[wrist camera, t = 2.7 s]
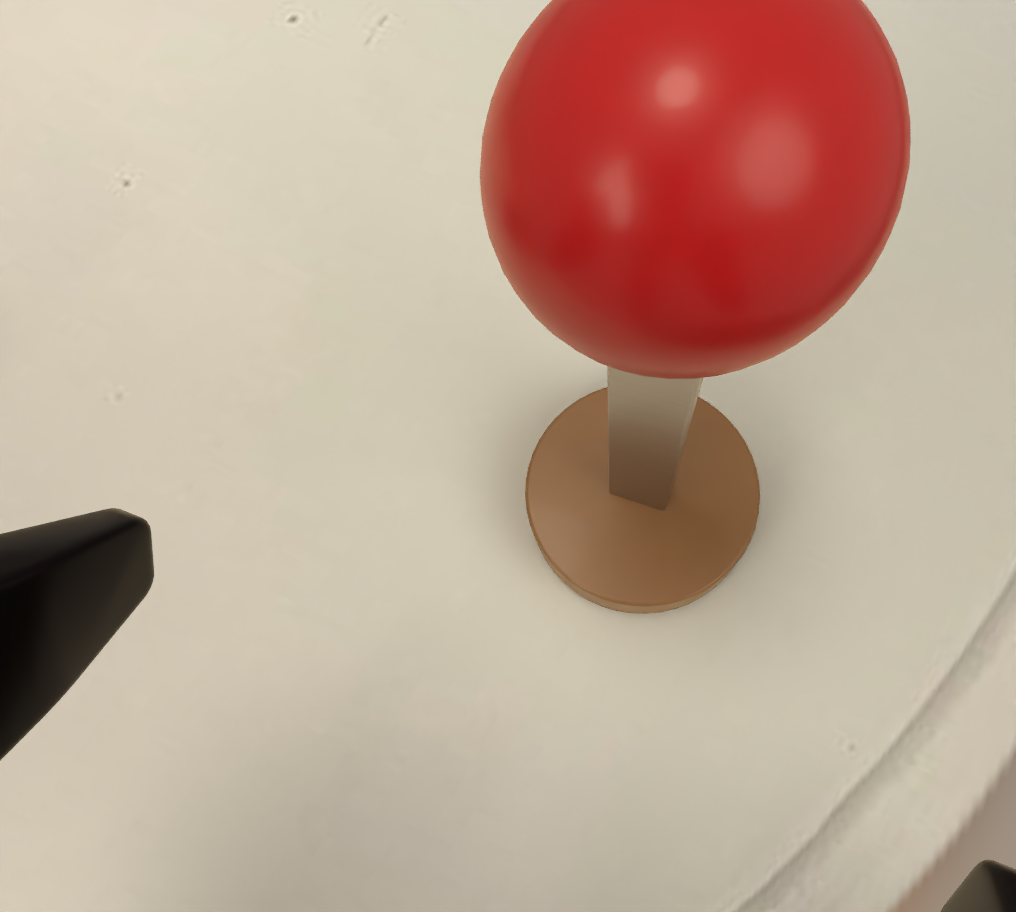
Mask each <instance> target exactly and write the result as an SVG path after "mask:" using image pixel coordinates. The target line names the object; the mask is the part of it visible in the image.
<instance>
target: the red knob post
mask: <svg viewBox="0 0 1016 912" xmlns="http://www.w3.org/2000/svg"><path fill="white" fill-rule="evenodd" d="M909 162H910V116H909V108H908V100H907V95H906V91H905V87H904V83H903V79H902V76H901V73H900V69H899V66H898V62H897V59H896V57H895V55H894V53H893V51H892V49H891V47H890V44H889V42H888V40H887V38H886V36H885V35H884V33H883V31H882V29H881V27H880V25H879V24H878V22H877V21H876V19H875V18H874V16H873V15H872V13H871V12H870V11H869V9H868V8H867V6H866V5H865V4H864V3H863V2H862V1H861V0H552V1H551V2H550V3H549V4H548V5H547V6H546V7H545V8H544V9H543V10H542V12H541V13H540V14H539V15H538V17H537V18H536V19H535V20H534V21H533V23H532V24H531V25H530V27H529V28H528V29H527V31H526V32H525V33H524V35H523V36H522V38H521V39H520V40H519V42H518V43H517V45H516V47H515V49H514V51H513V53H512V54H511V56H510V58H509V60H508V62H507V64H506V66H505V68H504V70H503V72H502V74H501V76H500V78H499V80H498V83H497V86H496V88H495V91H494V94H493V96H492V99H491V103H490V107H489V111H488V114H487V119H486V123H485V128H484V132H483V137H482V150H481V166H480V185H481V197H482V205H483V212H484V217H485V221H486V226H487V230H488V234H489V238H490V240H491V243H492V245H493V248H494V251H495V253H496V256H497V258H498V260H499V263H500V265H501V268H502V270H503V272H504V274H505V276H506V277H507V279H508V281H509V282H510V284H511V286H512V287H513V289H514V291H515V292H516V294H517V295H518V296H519V298H520V299H521V300H522V302H523V303H524V304H525V305H526V307H527V308H528V309H529V310H530V312H531V313H532V314H533V315H534V316H535V318H536V319H537V320H538V321H539V322H541V323H542V324H543V325H544V326H545V327H546V328H547V329H548V330H549V331H550V332H551V333H552V334H554V335H555V336H556V337H558V338H559V339H561V340H562V341H564V342H565V343H566V344H568V345H569V346H571V347H572V348H574V349H575V350H576V351H578V352H580V353H582V354H584V355H585V356H587V357H589V358H591V359H593V360H595V361H597V362H599V363H602V364H604V365H607V366H608V387H607V388H603V389H601V390H598V391H596V392H593V393H590V394H589V395H587V396H585V397H583V398H581V399H579V400H577V401H576V402H575V403H573V404H572V405H570V406H569V407H568V408H566V409H565V410H564V411H563V412H562V413H561V414H560V415H558V416H557V417H556V418H555V419H554V421H553V422H552V423H551V424H550V425H549V427H548V428H547V429H546V430H545V432H544V434H543V435H542V437H541V438H540V440H539V442H538V444H537V446H536V448H535V450H534V452H533V454H532V458H531V461H530V464H529V467H528V472H527V478H526V492H525V497H526V508H527V514H528V518H529V522H530V526H531V528H532V531H533V534H534V536H535V539H536V541H537V543H538V545H539V548H540V550H541V551H542V553H543V555H544V557H545V559H546V561H547V562H548V564H549V565H550V566H551V568H552V569H553V571H554V572H555V573H556V574H557V575H558V576H559V577H560V579H561V580H562V581H563V582H564V583H565V584H566V585H568V586H569V587H570V588H571V589H573V590H574V591H575V592H576V593H578V594H580V595H581V596H583V597H584V598H586V599H588V600H589V601H592V602H594V603H596V604H598V605H601V606H603V607H606V608H610V609H613V610H616V611H622V612H628V613H656V612H663V611H668V610H672V609H676V608H679V607H681V606H684V605H686V604H689V603H691V602H693V601H695V600H696V599H698V598H700V597H702V596H703V595H705V594H706V593H707V592H709V591H710V590H712V589H713V588H714V587H715V586H716V585H717V584H718V583H719V582H720V581H721V580H722V579H723V578H724V577H725V576H726V575H727V574H728V573H729V572H730V571H731V569H732V568H733V567H734V566H735V564H736V563H737V562H738V561H739V559H740V558H741V557H742V555H743V553H744V552H745V550H746V548H747V546H748V545H749V543H750V540H751V538H752V535H753V533H754V530H755V527H756V523H757V518H758V514H759V504H760V490H759V480H758V475H757V470H756V467H755V464H754V461H753V458H752V455H751V453H750V451H749V449H748V447H747V445H746V443H745V441H744V439H743V438H742V436H741V435H740V433H739V432H738V430H737V429H736V428H735V427H734V426H733V424H732V423H731V422H730V421H729V420H728V419H727V418H726V417H725V416H724V415H723V414H722V413H721V412H719V411H718V410H717V409H716V408H715V407H713V406H712V405H710V404H709V403H707V402H706V401H704V400H703V399H701V398H699V397H698V395H699V391H700V388H701V384H702V381H703V377H710V376H718V375H722V374H726V373H730V372H734V371H738V370H741V369H744V368H747V367H749V366H752V365H755V364H757V363H760V362H762V361H765V360H768V359H770V358H773V357H774V356H776V355H778V354H780V353H782V352H784V351H786V350H787V349H789V348H791V347H793V346H795V345H796V344H798V343H799V342H800V341H802V340H803V339H805V338H806V337H807V336H809V335H810V334H812V333H813V332H814V331H816V330H817V329H818V328H819V327H821V326H822V325H823V324H824V323H826V322H827V321H828V320H829V319H830V318H831V317H832V316H833V315H834V314H835V313H836V312H837V311H838V310H839V309H841V308H842V307H843V306H844V305H845V304H846V302H847V301H848V300H849V299H850V297H851V296H852V295H853V294H854V292H855V291H856V290H857V288H858V287H859V286H860V285H861V283H862V282H863V281H864V279H865V278H866V277H867V276H868V274H869V273H870V272H871V270H872V268H873V266H874V265H875V263H876V261H877V259H878V258H879V256H880V254H881V253H882V251H883V249H884V247H885V245H886V243H887V240H888V238H889V236H890V234H891V231H892V229H893V226H894V224H895V221H896V218H897V216H898V213H899V211H900V207H901V203H902V198H903V194H904V189H905V184H906V179H907V175H908V170H909Z"/></svg>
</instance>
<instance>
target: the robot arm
mask: <svg viewBox="0 0 1016 912" xmlns="http://www.w3.org/2000/svg"><path fill="white" fill-rule="evenodd" d="M153 578H154V566H153V552H152V539H151V529H150V526H149V524H148V523H147V521H146V520H144V519H143V518H141V517H138V516H136V515H133V514H131V513H128V512H126V511H123V510H121V509H116V508H111V509H105V510H101V511H97V512H93V513H88V514H84V515H80V516H75V517H71V518H67V519H63V520H58V521H54V522H50V523H46V524H41V525H37V526H33V527H29V528H24V529H20V530H16V531H12V532H7V533H3V534H0V760H1V759H2V758H3V757H4V756H5V755H6V754H7V753H8V752H9V751H10V750H11V749H12V748H13V747H14V746H15V745H16V744H17V743H18V742H19V741H20V740H21V739H22V738H23V737H24V736H25V735H26V734H27V733H28V732H29V731H30V730H31V729H32V728H33V727H34V726H35V725H36V724H37V723H38V722H39V721H40V720H41V719H42V718H43V717H44V716H45V715H46V714H47V713H48V712H49V711H50V710H51V708H52V707H53V706H54V705H55V704H56V703H57V702H58V701H59V700H60V699H61V698H62V697H63V695H64V694H65V693H66V692H67V691H68V690H69V688H70V687H71V686H72V685H73V684H74V683H75V682H76V680H77V679H78V678H79V677H80V675H81V674H82V673H83V672H84V671H85V669H86V668H87V667H88V666H89V665H90V663H91V662H92V661H93V660H94V658H95V657H96V656H97V655H98V654H99V652H100V651H101V650H102V649H103V647H104V646H105V645H106V644H107V643H108V641H109V640H110V639H111V638H112V636H113V635H114V634H115V633H116V632H117V630H118V629H119V628H120V627H121V626H122V624H123V623H124V622H125V621H126V619H127V618H128V617H129V616H130V615H131V613H132V612H133V611H134V610H135V608H136V607H137V606H138V605H139V604H140V602H141V601H142V600H143V599H144V597H145V596H146V595H147V593H148V591H149V589H150V588H151V585H152V582H153ZM941 912H1016V869H1013V868H1011V867H1008V866H1006V865H1003V864H1001V863H998V862H996V861H993V860H984V861H982V862H980V863H979V864H977V865H976V866H975V867H974V869H973V870H972V871H971V872H970V874H969V875H968V876H967V877H966V879H965V880H964V881H963V882H962V884H961V885H960V886H959V888H958V889H957V890H956V891H955V892H954V894H953V895H952V896H951V897H950V899H949V900H948V901H947V902H946V904H945V905H944V907H943V908H942V910H941Z"/></svg>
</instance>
